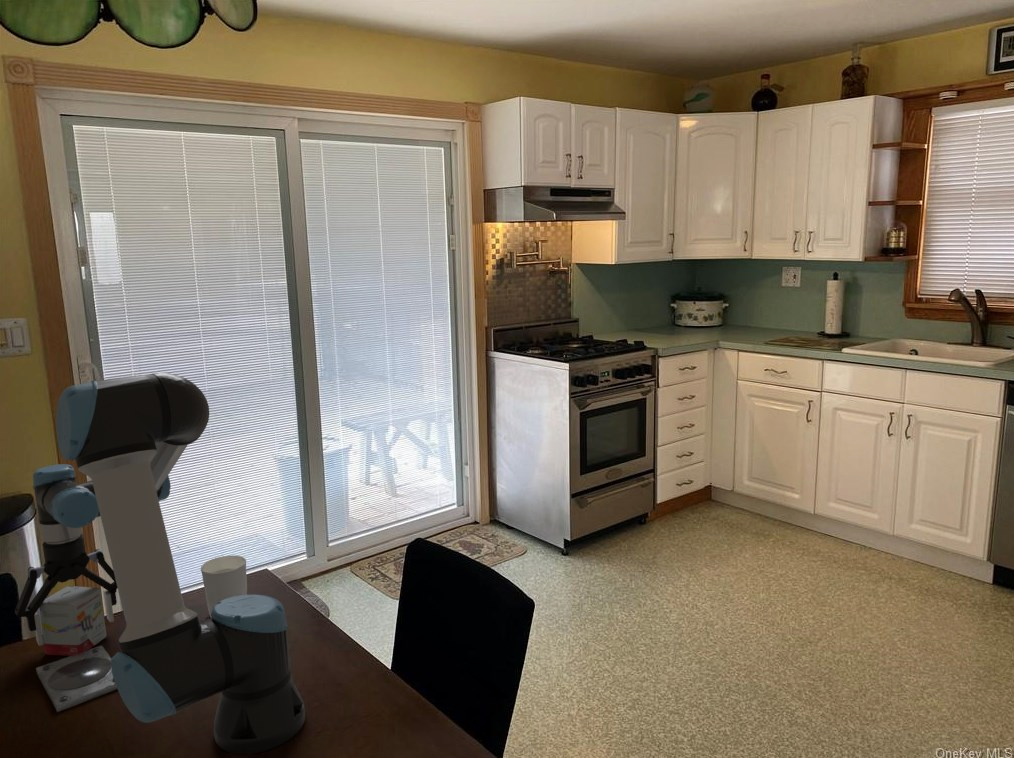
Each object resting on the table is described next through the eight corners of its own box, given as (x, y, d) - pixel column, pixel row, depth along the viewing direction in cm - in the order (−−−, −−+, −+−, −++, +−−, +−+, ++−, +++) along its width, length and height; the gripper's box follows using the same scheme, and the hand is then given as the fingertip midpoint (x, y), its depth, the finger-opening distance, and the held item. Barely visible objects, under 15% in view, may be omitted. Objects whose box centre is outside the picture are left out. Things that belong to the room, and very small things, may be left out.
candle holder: (242, 598, 178) (237, 551, 176) (257, 612, 170) (252, 564, 168) (200, 612, 172) (194, 563, 170) (214, 627, 164) (208, 577, 162)
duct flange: (127, 685, 143) (126, 678, 143) (57, 712, 135) (56, 704, 135) (102, 650, 156) (101, 644, 156) (36, 673, 148) (35, 666, 148)
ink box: (80, 657, 154) (72, 604, 152) (44, 654, 155) (36, 602, 153) (108, 636, 162) (101, 585, 160) (73, 634, 164) (66, 584, 162)
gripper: (121, 517, 166) (132, 605, 170) (-11, 550, 150) (4, 646, 153) (131, 526, 161) (143, 616, 164) (-5, 560, 144) (11, 660, 148)
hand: (76, 631), depth 159 cm, fingers open, 13 cm apart
